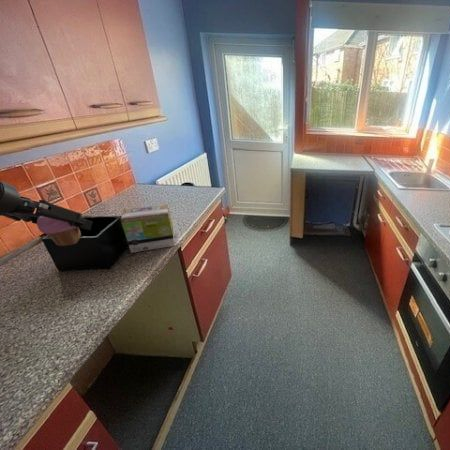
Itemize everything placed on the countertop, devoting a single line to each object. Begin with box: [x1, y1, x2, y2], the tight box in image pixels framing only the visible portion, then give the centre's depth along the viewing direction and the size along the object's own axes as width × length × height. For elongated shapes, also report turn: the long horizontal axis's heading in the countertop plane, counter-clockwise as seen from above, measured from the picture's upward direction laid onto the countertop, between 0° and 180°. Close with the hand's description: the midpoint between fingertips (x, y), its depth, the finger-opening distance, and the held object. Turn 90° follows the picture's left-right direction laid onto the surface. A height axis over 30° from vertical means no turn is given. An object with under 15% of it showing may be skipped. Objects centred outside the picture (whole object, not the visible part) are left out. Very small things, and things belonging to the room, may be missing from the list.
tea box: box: [121, 203, 176, 254], centre depth 95 cm, size 15×10×15 cm, turn 115°
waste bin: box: [41, 215, 130, 272], centre depth 87 cm, size 16×16×13 cm
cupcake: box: [36, 216, 81, 246], centre depth 69 cm, size 9×9×10 cm
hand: (73, 225), depth 72 cm, fingers closed on cupcake, 9 cm apart
